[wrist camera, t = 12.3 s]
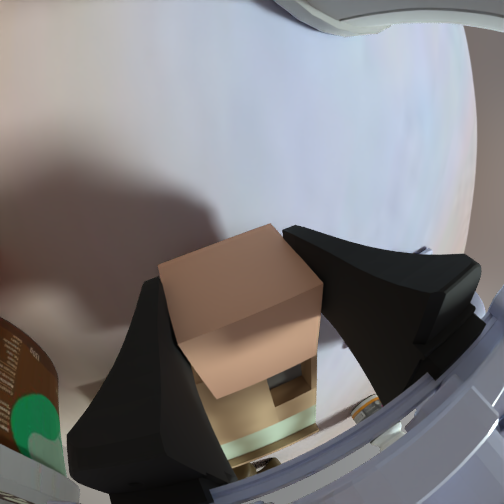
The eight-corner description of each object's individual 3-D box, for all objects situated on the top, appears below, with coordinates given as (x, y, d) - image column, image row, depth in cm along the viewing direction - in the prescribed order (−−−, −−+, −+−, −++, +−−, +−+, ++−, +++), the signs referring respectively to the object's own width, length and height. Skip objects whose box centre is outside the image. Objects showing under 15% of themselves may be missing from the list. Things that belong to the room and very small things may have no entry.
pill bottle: (380, 395, 40) (412, 434, 32) (354, 416, 40) (384, 456, 32) (374, 390, 36) (409, 435, 28) (345, 413, 36) (378, 459, 28)
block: (270, 223, 12) (323, 283, 9) (278, 298, 15) (316, 354, 12) (157, 264, 11) (177, 344, 8) (192, 334, 14) (216, 399, 11)
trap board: (301, 313, 19) (324, 342, 16) (307, 412, 29) (319, 430, 27) (104, 388, 16) (106, 424, 13) (193, 457, 26) (201, 477, 24)
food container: (61, 422, 16) (72, 526, 8) (-2, 400, 12) (-5, 506, 4) (93, 338, 14) (108, 511, 6) (1, 298, 10) (-42, 468, 2)
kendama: (255, 437, 30) (284, 462, 41) (190, 460, 29) (238, 479, 40) (273, 475, 25) (296, 486, 36) (202, 497, 24) (248, 504, 35)
